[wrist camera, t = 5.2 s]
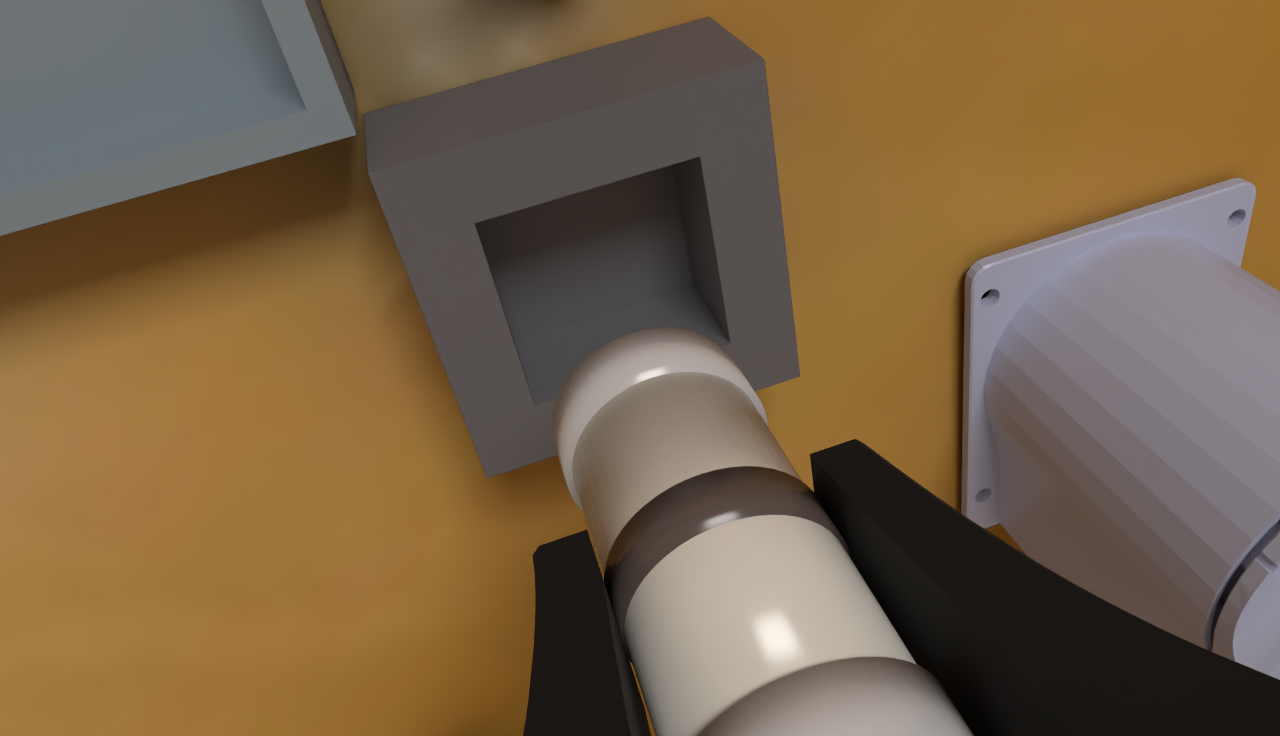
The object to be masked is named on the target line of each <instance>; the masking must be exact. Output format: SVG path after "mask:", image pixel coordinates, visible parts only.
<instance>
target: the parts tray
mask: <svg viewBox="0 0 1280 736" xmlns="http://www.w3.org/2000/svg"><path fill="white" fill-rule="evenodd" d="M355 135H357V134H356V119H355V104H354V89H353V86H352V84H351V81H350V78H349V76H348V73H347V70H346V68H345V65H344V62H343V60H342V57H341V55H340V52H339V49H338V47H337V44H336V41H335V39H334V36H333V33H332V31H331V28H330V25H329V23H328V20H327V18H326V15H325V12H324V10H323V7H322V4H321V2H320V0H0V236H2V235H5V234H9V233H12V232H16V231H19V230H23V229H26V228H30V227H33V226H37V225H40V224H44V223H47V222H51V221H55V220H58V219H62V218H65V217H69V216H72V215H76V214H79V213H83V212H86V211H90V210H93V209H97V208H100V207H104V206H107V205H111V204H115V203H118V202H122V201H125V200H129V199H132V198H136V197H139V196H143V195H146V194H150V193H153V192H157V191H160V190H164V189H167V188H171V187H175V186H178V185H182V184H185V183H189V182H192V181H196V180H199V179H203V178H206V177H210V176H213V175H217V174H220V173H224V172H227V171H231V170H235V169H238V168H242V167H245V166H249V165H252V164H256V163H259V162H263V161H266V160H270V159H273V158H277V157H280V156H284V155H287V154H291V153H295V152H298V151H302V150H305V149H309V148H312V147H316V146H319V145H323V144H326V143H330V142H333V141H337V140H340V139H344V138H347V137H351V136H355Z"/></svg>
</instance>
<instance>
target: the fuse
mask: <svg viewBox="0 0 1280 736" xmlns="http://www.w3.org/2000/svg"><path fill="white" fill-rule="evenodd" d="M551 427H552V437H553V441H554V445H555V448H556V452H557V455H558V458H559V461H560V464H561V467H562V471H563V474H564V477H565V480H566V483H567V486H568V489H569V492H570V494H571V496H572V498H573V500H574V501H575V503H576V504H577V506H578V507H579V508H580V509H581V510H582V511H583V512H584V515H585V519H586V522H587V525H588V528H589V531H590V534H591V537H592V540H593V543H594V546H595V549H596V552H597V555H598V558H599V561H600V565H601V568H602V571H603V574H604V584H605V587H606V590H607V593H608V596H609V599H610V603H611V606H612V609H613V612H614V615H615V618H616V621H617V624H618V627H619V631H620V634H621V637H622V640H623V643H624V646H625V649H626V652H627V655H628V658H629V660H630V661H631V663H632V664H633V666H634V669H635V672H636V675H637V678H638V681H639V684H640V687H641V690H642V693H643V696H644V699H645V703H646V706H647V709H648V712H649V715H650V718H651V721H652V724H653V727H654V730H655V733H656V736H974V735H973V734H972V732H971V731H970V729H969V727H968V726H967V724H966V723H965V721H964V720H963V718H962V716H961V715H960V713H959V712H958V710H957V709H956V707H955V705H954V704H953V702H952V701H951V699H950V698H949V696H948V694H947V693H946V691H945V690H944V688H943V687H942V685H941V684H940V682H939V681H938V679H937V678H936V677H935V676H934V675H932V674H931V673H930V672H929V671H927V670H926V669H924V668H922V667H921V666H919V665H917V664H916V662H915V661H914V659H913V658H912V656H911V654H910V653H909V651H908V650H907V648H906V646H905V645H904V643H903V642H902V640H901V638H900V637H899V635H898V634H897V632H896V630H895V629H894V627H893V626H892V624H891V622H890V621H889V619H888V618H887V616H886V614H885V613H884V611H883V610H882V608H881V606H880V605H879V603H878V602H877V600H876V598H875V597H874V595H873V594H872V592H871V590H870V589H869V587H868V586H867V584H866V582H865V581H864V579H863V578H862V576H861V574H860V573H859V571H858V570H857V568H856V566H855V565H854V563H853V562H852V560H851V558H850V557H849V548H848V546H847V544H846V542H845V541H844V539H843V538H842V536H841V534H840V533H839V531H838V530H837V528H836V527H835V525H834V523H833V522H832V520H831V519H830V517H829V515H828V514H827V512H826V511H825V509H824V508H823V506H822V504H821V503H820V501H819V500H818V498H817V497H816V495H815V494H814V492H813V491H812V490H811V489H810V488H809V487H808V486H807V485H806V484H805V483H803V482H802V480H801V478H800V477H799V475H798V474H797V472H796V470H795V469H794V467H793V466H792V464H791V462H790V461H789V459H788V458H787V456H786V454H785V453H784V451H783V450H782V448H781V446H780V445H779V443H778V442H777V440H776V438H775V437H774V435H773V434H772V432H771V430H770V429H769V427H768V422H767V417H766V413H765V410H764V408H763V405H762V403H761V401H760V400H759V398H758V396H757V395H756V393H755V392H754V390H753V389H752V387H751V385H750V384H749V382H748V381H747V379H746V378H745V376H744V374H743V373H742V371H741V370H740V368H739V367H738V365H737V363H736V362H735V360H734V359H733V357H732V356H731V355H730V353H729V352H728V351H727V350H726V349H725V348H724V347H723V346H721V345H720V344H719V343H718V342H716V341H715V340H713V339H711V338H709V337H707V336H706V335H703V334H700V333H698V332H695V331H691V330H686V329H680V328H653V329H646V330H641V331H637V332H633V333H630V334H627V335H625V336H622V337H619V338H617V339H615V340H613V341H611V342H609V343H607V344H605V345H604V346H602V347H601V348H599V349H597V350H596V351H594V352H593V353H592V354H591V355H589V356H588V357H587V358H586V359H584V360H583V361H582V362H581V363H580V364H579V365H578V366H577V367H576V368H575V369H574V371H573V372H572V373H571V375H570V376H569V377H568V378H567V380H566V381H565V383H564V385H563V387H562V388H561V390H560V392H559V394H558V397H557V399H556V402H555V405H554V409H553V413H552V423H551Z"/></svg>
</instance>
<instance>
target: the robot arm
mask: <svg viewBox="0 0 1280 736" xmlns="http://www.w3.org/2000/svg"><path fill="white" fill-rule="evenodd" d="M1255 197H1256V188H1255V186H1254V184H1252V183H1250V182H1248V181H1246V180H1244V179H1241V178H1233V179H1230V180H1227V181H1224V182H1220V183H1217V184H1214V185H1211V186H1208V187H1205V188H1202V189H1198V190H1195V191H1192V192H1189V193H1186V194H1183V195H1180V196H1177V197H1173V198H1170V199H1167V200H1164V201H1161V202H1158V203H1155V204H1151V205H1148V206H1145V207H1142V208H1139V209H1136V210H1133V211H1129V212H1126V213H1123V214H1120V215H1117V216H1114V217H1111V218H1108V219H1104V220H1101V221H1098V222H1095V223H1092V224H1089V225H1086V226H1082V227H1079V228H1076V229H1073V230H1070V231H1067V232H1064V233H1060V234H1057V235H1054V236H1051V237H1048V238H1045V239H1042V240H1038V241H1035V242H1032V243H1029V244H1026V245H1023V246H1020V247H1017V248H1013V249H1010V250H1007V251H1004V252H1001V253H998V254H995V255H991V256H988V257H985V258H983V259H981V260H979V261H977V262H975V263H974V264H973V265H972V266H971V267H970V269H969V270H968V272H967V274H966V278H965V307H964V373H963V439H962V505H961V513H960V512H958V511H957V510H955V509H954V508H952V507H951V506H949V505H948V504H946V503H945V502H943V501H942V500H941V499H939V498H938V497H936V496H935V495H934V494H932V493H931V492H929V491H928V490H926V489H925V488H924V487H922V486H921V485H919V484H918V483H917V482H915V481H914V480H912V479H911V478H910V477H908V476H907V475H906V474H904V473H903V472H901V471H900V470H899V469H897V468H896V467H895V466H893V465H892V464H891V463H889V462H888V461H887V460H885V459H884V458H883V457H881V456H880V455H879V454H877V453H876V452H875V451H873V450H872V449H871V448H869V447H868V446H867V445H865V444H864V443H862V442H860V441H858V440H856V439H853V440H850V441H847V442H845V443H842V444H839V445H836V446H833V447H830V448H827V449H824V450H821V451H818V452H815V453H812V454H810V458H811V467H812V476H813V485H814V494H815V495H816V497H817V498H818V500H819V501H820V503H821V504H822V506H823V508H824V509H825V511H826V512H827V514H828V515H829V517H830V519H831V520H832V522H833V523H834V525H835V527H836V528H837V530H838V531H839V533H840V534H841V536H842V538H843V539H844V541H845V542H846V544H847V546H848V548H849V557H850V558H851V560H852V562H853V563H854V565H855V566H856V568H857V570H858V571H859V573H860V574H861V576H862V578H863V579H864V581H865V582H866V584H867V586H868V587H869V589H870V590H871V592H872V594H873V595H874V597H875V598H876V600H877V602H878V603H879V605H880V606H881V608H882V610H883V611H884V613H885V614H886V616H887V618H888V619H889V621H890V622H891V624H892V626H893V627H894V629H895V630H896V632H897V634H898V635H899V637H900V638H901V640H902V642H903V643H904V645H905V646H906V648H907V650H908V651H909V653H910V654H911V656H912V658H913V659H914V661H915V662H916V664H917V665H919V666H921V667H922V668H924V669H926V670H927V671H929V672H930V673H931V674H932V675H934V676H935V677H936V678H937V679H938V681H939V682H940V684H941V685H942V687H943V688H944V690H945V691H946V693H947V694H948V696H949V698H950V699H951V701H952V702H953V704H954V705H955V707H956V709H957V710H958V712H959V713H960V715H961V716H962V718H963V720H964V721H965V723H966V724H967V726H968V727H969V729H970V731H971V732H972V734H973V735H974V736H1280V291H1278V290H1277V289H1275V288H1273V287H1272V286H1270V285H1268V284H1267V283H1265V282H1263V281H1262V280H1260V279H1258V278H1257V277H1255V276H1253V275H1252V274H1250V273H1248V272H1247V271H1245V270H1243V269H1242V268H1240V267H1241V262H1242V257H1243V253H1244V248H1245V243H1246V239H1247V234H1248V229H1249V225H1250V220H1251V215H1252V211H1253V206H1254V201H1255ZM1231 214H1232V215H1231ZM1230 215H1231V216H1230ZM1229 216H1230V217H1229ZM990 289H991V290H990ZM988 290H990V293H989V294H988V295H987V296H986V297H985V298H983V299H981V298H982V296H983V295H984V293H985V292H987V291H988ZM999 523H1000V524H1001V525H1002V526H1003V528H1004V529H1005V530H1006V531H1007V532H1008V534H1009V535H1010V536H1011V537H1012V538H1013V540H1014V541H1015V542H1016V543H1017V544H1018V546H1019V547H1020V548H1021V549H1022V550H1023V552H1024V553H1025V554H1026V555H1027V556H1026V555H1025V554H1023V553H1022V552H1020V551H1018V550H1017V549H1015V548H1013V547H1012V546H1010V545H1009V544H1007V543H1005V542H1004V541H1002V540H1001V539H999V538H998V537H996V536H995V535H993V534H992V533H990V532H989V531H987V530H986V529H985V528H988V527H991V526H993V525H996V524H999ZM533 562H534V570H535V590H536V610H535V634H534V650H533V660H532V670H531V681H530V691H529V700H528V708H527V716H526V722H525V728H524V734H523V736H651V734H650V730H649V725H648V721H647V717H646V712H645V708H644V705H643V702H642V699H641V696H640V693H639V690H638V687H637V683H636V680H635V677H634V674H633V671H632V668H631V665H630V662H629V659H628V655H627V652H626V649H625V646H624V643H623V640H622V637H621V634H620V631H619V627H618V624H617V621H616V618H615V615H614V612H613V609H612V606H611V603H610V599H609V596H608V593H607V590H606V587H605V584H604V581H603V578H602V574H601V571H600V568H599V565H598V562H597V559H596V556H595V553H594V550H593V547H592V544H591V541H590V538H589V534H588V531H587V530H585V531H582V532H579V533H576V534H573V535H570V536H567V537H564V538H561V539H558V540H555V541H552V542H549V543H546V544H543V545H541V546H539V547H538V548H537V550H536V551H535V553H534V554H533Z"/></svg>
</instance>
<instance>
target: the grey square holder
mask: <svg viewBox="0 0 1280 736" xmlns="http://www.w3.org/2000/svg"><path fill="white" fill-rule="evenodd" d="M363 120H364V131H365V143H366V155H367V166H368V174H369V177H370V180H371V182H372V185H373V187H374V190H375V192H376V195H377V198H378V200H379V203H380V205H381V208H382V210H383V213H384V215H385V218H386V221H387V223H388V226H389V228H390V231H391V233H392V236H393V239H394V241H395V244H396V246H397V249H398V251H399V254H400V256H401V259H402V262H403V264H404V267H405V269H406V272H407V274H408V277H409V280H410V282H411V285H412V287H413V290H414V292H415V295H416V297H417V300H418V303H419V305H420V308H421V310H422V313H423V315H424V318H425V321H426V323H427V326H428V328H429V331H430V333H431V336H432V339H433V341H434V344H435V346H436V349H437V351H438V354H439V356H440V359H441V362H442V364H443V367H444V369H445V372H446V374H447V377H448V380H449V382H450V385H451V387H452V390H453V392H454V395H455V397H456V400H457V403H458V405H459V408H460V410H461V413H462V415H463V418H464V421H465V423H466V426H467V428H468V431H469V433H470V436H471V439H472V441H473V444H474V446H475V449H476V451H477V454H478V456H479V459H480V462H481V464H482V467H483V469H484V472H485V474H486V477H487V478H489V477H492V476H495V475H498V474H501V473H504V472H507V471H511V470H514V469H517V468H520V467H523V466H526V465H529V464H532V463H535V462H538V461H541V460H544V459H547V458H550V457H554V456H557V452H556V448H555V445H554V441H553V437H552V427H551V423H552V413H553V409H554V405H555V402H556V399H557V397H558V394H559V392H560V390H561V388H562V387H563V385H564V383H565V381H566V380H567V378H568V377H569V376H570V375H571V373H572V372H573V371H574V369H575V368H576V367H577V366H578V365H579V364H580V363H581V362H582V361H583V360H584V359H586V358H587V357H588V356H589V355H591V354H592V353H593V352H594V351H596V350H597V349H599V348H601V347H602V346H604V345H605V344H607V343H609V342H611V341H613V340H615V339H617V338H619V337H622V336H625V335H627V334H630V333H633V332H637V331H641V330H646V329H653V328H680V329H686V330H691V331H695V332H698V333H700V334H703V335H706V336H707V337H709V338H711V339H713V340H715V341H716V342H718V343H719V344H720V345H721V346H723V347H724V348H725V349H726V350H727V351H728V352H729V353H730V355H731V356H732V357H733V359H734V360H735V362H736V363H737V365H738V367H739V368H740V370H741V371H742V373H743V374H744V376H745V378H746V379H747V381H748V382H749V384H750V385H751V387H752V389H753V390H754V391H756V390H759V389H762V388H765V387H768V386H772V385H775V384H778V383H781V382H784V381H787V380H790V379H793V378H796V377H799V376H800V371H799V362H798V353H797V344H796V335H795V326H794V317H793V309H792V300H791V291H790V282H789V273H788V264H787V256H786V247H785V238H784V229H783V220H782V211H781V202H780V194H779V185H778V176H777V167H776V158H775V149H774V140H773V132H772V123H771V114H770V105H769V96H768V87H767V79H766V70H765V61H764V59H763V58H762V57H761V56H759V55H758V54H757V53H755V52H754V51H753V50H752V49H750V48H749V47H748V46H746V45H745V44H744V43H743V42H741V41H740V40H739V39H737V38H736V37H735V36H734V35H732V34H731V33H730V32H728V31H727V30H726V29H725V28H723V27H722V26H721V25H719V24H718V23H717V22H716V21H714V20H713V19H712V18H710V17H706V18H702V19H699V20H695V21H692V22H688V23H685V24H681V25H678V26H674V27H670V28H667V29H663V30H660V31H656V32H653V33H649V34H645V35H642V36H638V37H635V38H631V39H628V40H624V41H621V42H617V43H613V44H610V45H606V46H603V47H599V48H596V49H592V50H589V51H585V52H581V53H578V54H574V55H571V56H567V57H564V58H560V59H557V60H553V61H549V62H546V63H542V64H539V65H535V66H532V67H528V68H525V69H521V70H517V71H514V72H510V73H507V74H503V75H500V76H496V77H493V78H489V79H485V80H482V81H478V82H475V83H471V84H468V85H464V86H461V87H457V88H453V89H450V90H446V91H443V92H439V93H436V94H432V95H429V96H425V97H421V98H418V99H414V100H411V101H407V102H404V103H400V104H397V105H393V106H389V107H386V108H382V109H379V110H375V111H372V112H368V113H365V114H363Z"/></svg>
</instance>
